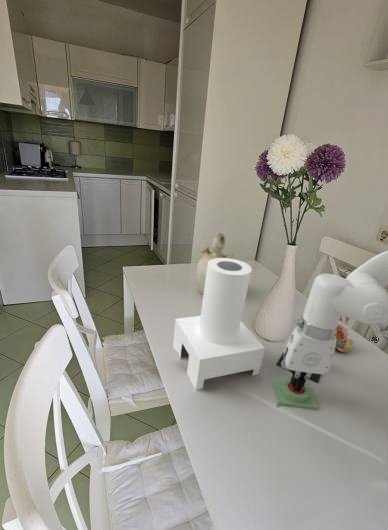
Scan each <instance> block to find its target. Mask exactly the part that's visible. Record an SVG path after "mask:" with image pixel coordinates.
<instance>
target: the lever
mask: <svg viewBox="0 0 388 530" xmlns="http://www.w3.org/2000/svg"><path fill="white" fill-rule="evenodd" d="M353 344H354V340H353V339H352V338H348V339H347V341H346V342H339V341H336V346H339V347H345V348H344V350H345V352H344V353H351V352H352V348H353Z"/></svg>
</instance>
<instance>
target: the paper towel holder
mask: <svg viewBox="0 0 388 530" xmlns="http://www.w3.org/2000/svg"><path fill="white" fill-rule="evenodd" d="M252 271H253V270H252V267H251V266H250V265H249V263H246V262H244V261H242V260H239V259H236V258H232V259H230V258H215V259H211V260H210V261H209V262H208V264H207V272H206V279H205V287H204V294H202V303H201V310H200V315H196V316H188V317H179V318H175V320H174V321H175V322H174V334H173V342H172V343H173V344H172V347H173V349H174V351H175V352H177V354H178V359H179V360H181V357H182V348H183V347H184V348H185V349H184V350H186V352H187V354H188V362H187V367H186V368H187V369H186V374H187V376H188V378H189V380H190V382H191V384H192V385H193V388H194V389H195V391H198V390H203V389H204V383H205V380H208V379H213V378H218V377H224V376H228V375H234V374H238V373H242V372H248V371H252V375H251V376H256V375H259V373H260V369H261V365H262V362H263V358H264V354H265V351H266V347H265V346H264V345H263V344H262V343H261V341H260V340H259V339H258V338H257V337H256V336H255V335H254V334H253V333H252V332H251V331H250V330H249V328H247V326H245V324H244V323H243V322H242V319H243V313H244V309H245V303H246V298H247V294H248V289H249V285H250V280H251V275H252ZM182 345H183V347H182Z"/></svg>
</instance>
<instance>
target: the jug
mask: <svg viewBox="0 0 388 530" xmlns="http://www.w3.org/2000/svg"><path fill="white" fill-rule="evenodd" d="M225 245H226V236H225V235H224V234H223V233H222V232H218V233H216V234H215V235H214V238H213V241H212V251H213V252H210V246H205V247H204V248H201V249H200V250H199V252H200V253H202V254H203V255H202V257H201V258H200V259H199V261H198V262H197V266H196V282H197V283H196V284H197V289H198V292H199V293H201V294H202V295H203V294H204V287H205V279H206V272H207V264H208V262H209V261H210V260H211V259H215V258H230V259H234V254H233V253H230V254H224V253H223V251H224V248H225V247H226V246H225Z"/></svg>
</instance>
